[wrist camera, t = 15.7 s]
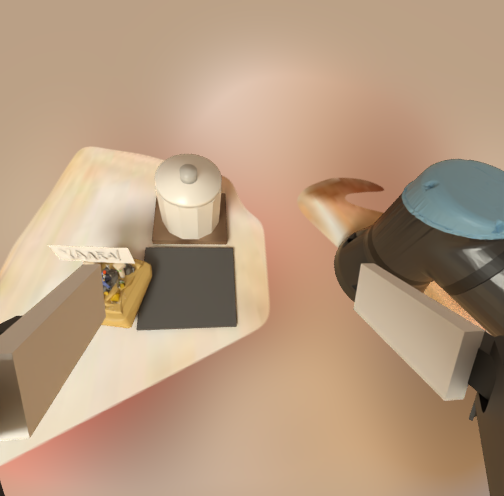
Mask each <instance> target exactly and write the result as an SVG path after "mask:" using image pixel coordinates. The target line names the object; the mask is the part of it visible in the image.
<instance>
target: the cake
mask: <svg viewBox="0 0 504 496" xmlns="http://www.w3.org/2000/svg"><path fill="white" fill-rule="evenodd" d="M48 246H49V247H50V248H51V250H52V251H53V252H54V253H55V254H56V255H57V257H58V258H59V259H60V260H71V261H84V262H83V264H101V273H102V283H103V293H104V303H105V313H106V318H105V319H104V321H103V323H102V324H101V325H107V326H115V327H123V328H130V327H132V324H133V322H134V319H135V317H136V315H137V312H138V310H139V307H140V305H141V302H142V300H143V297H144V295H145V293H146V290H147V288H148V285H149V283H150V280H151V278H152V267H151V265H150V264H148V263H147V262H145V261H142V260H138V259H134V258H132V256H131V253H130V251H129V249H128V248H108V247H91V246H88V247H77V246H53V245H48Z"/></svg>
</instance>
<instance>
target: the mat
mask: <svg viewBox="0 0 504 496" xmlns="http://www.w3.org/2000/svg"><path fill="white" fill-rule="evenodd" d="M144 261H145V262H147V263H148V264H150V265H151V267H152V278H151V280H150V283H149V285H148V288H147V290H146V293H145V295H144V297H143V300H142V302H141V305H140V307H139V313H138V322H137V330H160V329H185V328H211V327H236V305H235V284H234V263H233V248H146V250H145V259H144Z"/></svg>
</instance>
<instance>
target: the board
mask: <svg viewBox="0 0 504 496" xmlns="http://www.w3.org/2000/svg"><path fill="white" fill-rule="evenodd" d="M152 241H153V244H227V229H226V202H225V194H224V193H221V202H220V214H219V223H218V224H217V226H216V227H215V229H214V230H213V232H212V233H210V234H208V235H206V236H204V237H202V238H200V239H181V238H179V237H177V236H175V235H173V234H171V233H169V231H168V229H167V228H166V226H165V225H164V223H163V221H162V217H161V213H160V208H159V204H158V199H157V198H156V208H155V217H154V227H153V237H152Z"/></svg>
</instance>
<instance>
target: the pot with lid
mask: <svg viewBox="0 0 504 496" xmlns="http://www.w3.org/2000/svg"><path fill="white" fill-rule="evenodd" d="M221 182H222V178H221V174H220V171H219V169H218V168H217V166H216V165H215V164H214V163H213V162H211V161H210V160H208V159H207V158H204V157H202V156H199V155H194V154H180V155H176V156H173V157H170V158H168V159H166V160H165V161H164V162H162V163H161V164H160V166H159V167H158V168H157V170H156V173H155V190H156V194H157V199H158V204H159V208H160V213H161V217H162V221H163V223H164V225H165V226H166V228H167V229H168V231H169V233H171V234H173V235H175V236H177V237H179V238H181V239H200V238H202V237H204V236H206V235H208V234H210V233H212V232H213V230H214V229H215V227H216V226H217V224H218V223H219V214H220V202H221Z"/></svg>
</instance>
